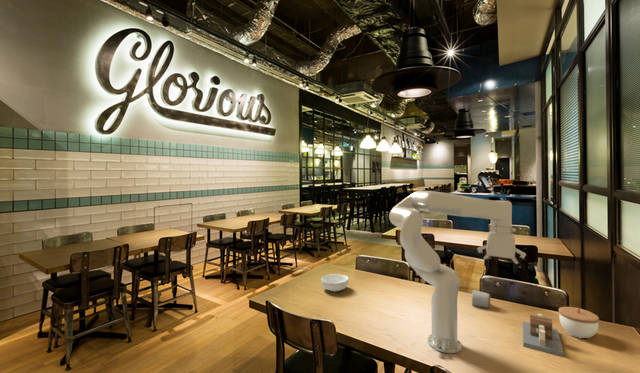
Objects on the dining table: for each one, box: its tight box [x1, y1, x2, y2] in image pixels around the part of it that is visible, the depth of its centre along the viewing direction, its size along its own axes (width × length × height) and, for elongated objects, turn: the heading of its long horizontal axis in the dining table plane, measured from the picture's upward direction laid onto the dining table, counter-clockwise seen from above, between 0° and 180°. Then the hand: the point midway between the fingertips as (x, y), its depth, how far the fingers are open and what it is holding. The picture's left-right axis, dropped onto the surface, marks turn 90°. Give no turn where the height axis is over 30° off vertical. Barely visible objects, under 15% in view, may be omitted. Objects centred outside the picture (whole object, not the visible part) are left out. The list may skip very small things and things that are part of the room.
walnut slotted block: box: [529, 314, 553, 340], centre depth 116 cm, size 4×7×7 cm, turn 55°
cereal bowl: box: [320, 273, 349, 293], centre depth 173 cm, size 17×17×7 cm
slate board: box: [522, 321, 564, 357], centre depth 117 cm, size 20×12×2 cm, turn 145°
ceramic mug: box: [471, 289, 491, 309], centre depth 149 cm, size 11×8×8 cm
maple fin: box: [536, 313, 545, 347], centre depth 116 cm, size 18×2×6 cm, turn 145°
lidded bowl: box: [558, 306, 600, 339], centre depth 120 cm, size 13×13×11 cm
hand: (500, 270), depth 119 cm, fingers open, 9 cm apart
